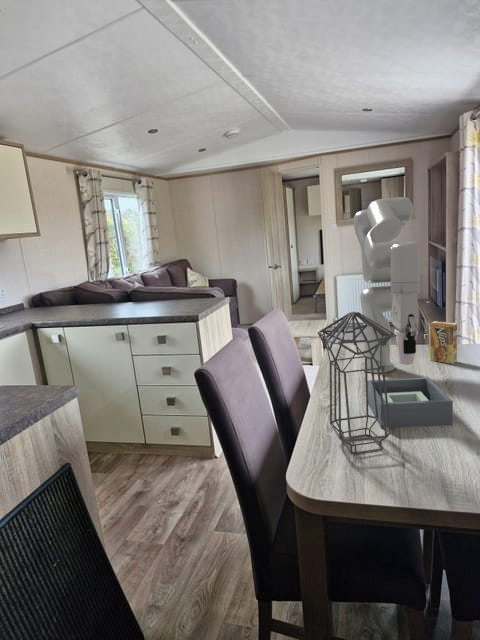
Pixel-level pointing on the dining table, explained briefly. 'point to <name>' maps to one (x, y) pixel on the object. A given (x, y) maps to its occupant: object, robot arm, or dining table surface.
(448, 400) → the bin
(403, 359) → the smoothie
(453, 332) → the candy box
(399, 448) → the dining table surface
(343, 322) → the geometric lantern
